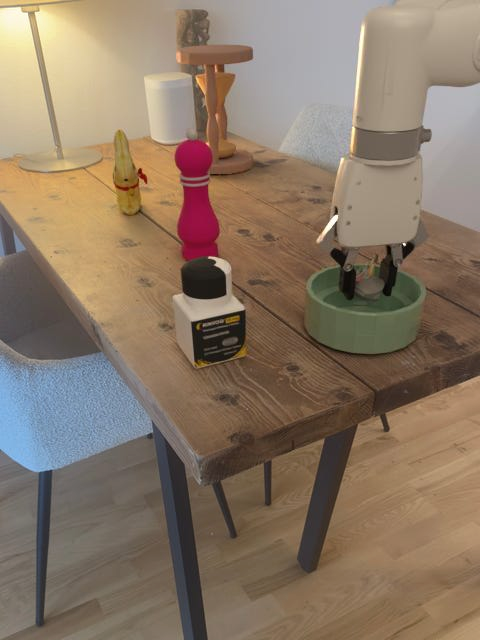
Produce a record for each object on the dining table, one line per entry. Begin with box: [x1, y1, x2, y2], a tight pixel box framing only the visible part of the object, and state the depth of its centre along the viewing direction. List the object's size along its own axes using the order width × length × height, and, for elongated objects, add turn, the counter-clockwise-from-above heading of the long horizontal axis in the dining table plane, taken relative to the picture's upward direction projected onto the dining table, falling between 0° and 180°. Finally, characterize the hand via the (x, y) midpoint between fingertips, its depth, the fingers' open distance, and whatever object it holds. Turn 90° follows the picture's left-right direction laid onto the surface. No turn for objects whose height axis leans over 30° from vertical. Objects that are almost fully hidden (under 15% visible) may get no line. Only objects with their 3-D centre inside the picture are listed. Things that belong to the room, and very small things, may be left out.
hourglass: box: [175, 44, 255, 176], centre depth 136 cm, size 18×18×25 cm
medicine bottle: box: [171, 256, 247, 370], centre depth 70 cm, size 7×7×12 cm
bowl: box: [303, 262, 428, 355], centre depth 76 cm, size 15×15×6 cm
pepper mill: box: [174, 128, 221, 261], centre depth 92 cm, size 7×7×20 cm
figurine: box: [354, 253, 385, 302], centre depth 73 cm, size 5×4×6 cm
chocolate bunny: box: [112, 129, 148, 216], centre depth 114 cm, size 7×11×15 cm, turn 11°
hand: (365, 292), depth 74 cm, fingers closed on figurine, 4 cm apart
